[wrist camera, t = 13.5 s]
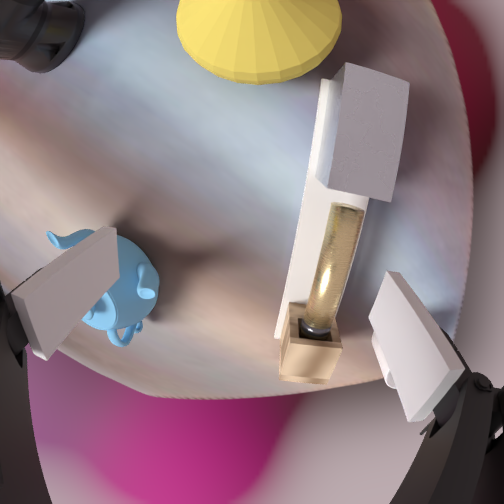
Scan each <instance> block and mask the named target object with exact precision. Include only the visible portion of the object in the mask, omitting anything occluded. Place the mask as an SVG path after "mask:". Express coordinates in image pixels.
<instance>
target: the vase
mask: <svg viewBox="0 0 504 504" xmlns="http://www.w3.org/2000/svg"><path fill="white" fill-rule="evenodd" d="M176 20H177V33H178V36H179V39H180V41H181V43H182V45H183V47H184V50H185V51H186V52H187V53H188V54H189V55H190V56H191V57H192V58H193V59H194V60H195V61H196V62H197V63H198V64H199V65H200V66H202V67H203V68H205V69H206V70H208V71H210V72H211V73H213V74H215V75H216V76H218V77H221V78H224V79H227V80H231V81H234V82H237V83H245V84H255V85H262V84H272V83H281V82H284V81H287V80H290V79H293V78H296V77H300V76H302V75H303V74H305V73H307V72H308V71H310V70H312V69H313V68H315V67H317V66H318V65H319V64H320V63H321V62H322V61H323V60H324V59H325V58H326V57H327V55H328V54H329V53H330V52H331V51H332V49H333V48H334V45H335V43H336V41H337V39H338V37H339V35H340V33H341V24H342V13H341V10H340V6H339V3H338V0H180V3H179V6H178V10H177V14H176Z"/></svg>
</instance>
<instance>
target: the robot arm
mask: <svg viewBox="0 0 504 504" xmlns="http://www.w3.org/2000/svg"><path fill="white" fill-rule="evenodd" d="M83 25H84V11H83V9H82V7H81V6H79V5H77V4H75V3H73V2H69V1H53V2H46V1H45V0H0V59H3V60H14V61H16V62H17V63H19V64H20V65H22V66H23V67H25V68H26V69H28V70H29V71H31V72H36V73H46V72H48V71H51V70H52V69H54V68H55V67H57V66H58V65H59V64H60V63H61V62H62V61H63V60H64V59H65V58H66V57H67V56H68V54H69V53H70V52H71V50H72V49H73V47H74V46H75V44H76V42H77V40H78V38H79V36H80V34H81V31H82V28H83ZM119 278H120V274H119V263H118V249H117V230H116V228H113V227H106V226H103V227H102V228H100V229H99V230H97V231H96V232H94V233H93V234H91V235H89V236H88V237H86V238H85V239H83V240H82V241H80V242H79V243H77V244H76V245H75V246H73V247H72V248H70V249H69V250H67V251H66V252H64V253H63V254H62V255H60V256H59V257H57V258H56V259H55V260H53V261H52V262H51V263H49V264H48V265H46V266H45V267H43V268H41V269H39V270H38V271H36V272H35V273H34V274H32V276H30V277H29V278H27V279H26V281H23V282H22V283H21V284H20V285H18V286H17V287H16V288H15V289H13V290H12V291H11V292H10V293H9V294H7V295H6V296H5V295H4V292H3V289H2V286H1V282H0V504H52V502H51V499H50V496H49V493H48V489H47V487H46V483H45V480H44V477H43V472H42V469H41V465H40V461H39V456H38V453H37V448H36V442H35V437H34V431H33V425H32V419H31V412H30V411H31V410H30V402H29V391H28V376H27V353H26V350H25V348H24V347H25V346H26V345H27V344H28V343H29V344H30V347H31V349H32V351H33V353H34V354H35V355H37V356H39V357H41V358H42V359H44V360H46V361H47V360H48V359H49V358H50V356H51V355H52V354H53V353H54V351H55V350H56V349H57V348H58V347H59V345H60V344H61V343H62V342H63V340H64V339H65V338H66V337H67V336H68V334H69V333H70V332H71V331H72V330H73V329H74V327H75V326H76V325H77V324H78V323H79V322H80V320H81V319H82V318H83V317H84V316H85V315H86V314H87V312H88V311H89V310H90V309H91V308H92V307H93V306H94V305H95V304H96V302H97V301H98V300H99V299H100V298H101V297H102V296H103V295H104V294H105V293H106V292H107V290H108V289H109V288H110V287H111V286H112V285H113V284H114V283H115V282H116V281H117V280H118V279H119ZM368 318H369V320H370V322H371V325H372V327H373V329H374V332H375V334H376V336H377V339H378V341H379V344H380V346H381V349H382V351H383V354H384V356H385V359H386V361H387V364H388V367H389V369H390V372H391V374H392V377H393V380H394V383H395V385H396V388H397V391H398V394H399V397H400V399H401V402H402V405H403V408H404V411H405V414H406V417H407V420H408V422H415V421H422V420H424V419H425V418H426V417H427V416H428V415H429V414H430V413H431V412H432V411H434V414H435V418H434V419H433V420H432V421H431V422H430V423H429V424H428V425H427V426H426V427H425V428H424V429H423V430H422V432H421V433H420V435H422V434H423V433H424V432H426V431H427V432H426V435H425V437H424V440H423V442H422V444H421V446H420V448H419V451H418V453H417V455H416V457H415V459H414V461H413V463H412V465H411V467H410V469H409V471H408V473H407V474H406V477H405V478H404V480H403V482H402V484H401V485H400V487H399V489H398V490H397V492H396V494H395V496H394V497H393V499H392V501H391V502H390V504H504V386H503V387H502V388H501V389H499V388H494V387H493V385H492V383H491V381H490V380H489V379H488V378H487V377H486V376H484V375H483V374H480V373H478V372H473V373H472V372H471V370H470V369H469V367H468V365H467V364H466V362H465V360H464V359H463V357H462V355H461V354H460V352H459V351H457V348H456V346H455V344H453V341H452V340H451V338H450V337H449V335H448V334H447V333H446V332H445V331H444V330H442V329H441V328H440V327H439V326H438V325H437V323H436V322H435V320H434V319H433V317H432V316H431V315H430V313H429V312H428V310H427V309H426V308H425V306H424V305H423V303H422V302H421V301H420V299H419V298H418V296H417V295H416V294H415V292H414V291H413V290H412V288H411V287H410V286H409V284H408V283H407V282H406V280H405V279H404V278H403V277H402V275H401V274H400V273H398V272H392V271H386V273H385V276H384V279H383V282H382V284H381V287H380V290H379V292H378V295H377V297H376V300H375V303H374V305H373V307H372V310H371V312H370V315H369V317H368ZM502 426H503V433H502V434H501V435H500V436H499V437H498V438H496V439H495V433H496V432H497V431H498V430H499V429H500V428H501V427H502Z"/></svg>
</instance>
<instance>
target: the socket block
mask: <svg viewBox="0 0 504 504" xmlns="http://www.w3.org/2000/svg"><path fill="white" fill-rule="evenodd" d="M306 306H307V305H306V304H299V303H292V302H289V304H288V308H287V312H286V316H285V320H284V324H283V329H282V332H281V336H280V363H279V380H283V381H291V382H301V383H312V384H325V385H327V383H328V381H329V378H330V376H331V374H332V372H333V370H334V368H335V365H336V363H337V361H338V359H339V356H340V354H341V352H342V349H343V347H342V343H341V339H340V335H339V331H338V327H337V323H336V320H335V317H334V320H333V323H332V327H331V329H330V332H329V334H328V337H327V339H326V341H319V340H310V339H302V338H299V330H300V327H301V322H302V318H303V316H304V313H305V309H306Z"/></svg>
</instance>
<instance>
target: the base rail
mask: <svg viewBox="0 0 504 504" xmlns="http://www.w3.org/2000/svg"><path fill="white" fill-rule="evenodd" d="M330 81H331V80H328V79H323V78H322V79H321V85H320V93H319V100H318V107H317V114H316V121H315V127H314V134H313V140H312V147H311V153H310V159H309V165H308V171H307V177H306V183H305V188H304V194H303V199H302V205H301V210H300V216H299V221H298V226H297V231H296V236H295V241H294V246H293V251H292V256H291V261H290V266H289V271H288V275H287V280H286V285H285V289H284V294H283V299H282V303H281V308H280V312H279V316H278V321H277V325H276V329H275V334H274V338H276V339H280V336H281V332H282V329H283V324H284V320H285V316H286V312H287V308H288V304H289V302H292V303H299V304H306V305H307V302H308V298H309V294H310V291H311V287H312V283H313V279H314V275H315V271H316V267H317V263H318V259H319V255H320V251H321V247H322V242H323V238H324V234H325V229H326V225H327V220H328V215H329V211H330V206H331V202H340V203H345V204H349V205H353V206H356V207H359V208H361V209H363V210H364V211H365V214H366V210H367V206H368V201H369V197H365V196H361V195H356V194H351V193H347V192H342V191H337V190H332V189H327V188H326V187H325V186H324V185H323V184H322V183H321V182H320V181H319V180H318V179H316V178H315V173H316V168H317V162H318V156H319V150H320V144H321V137H322V131H323V124H324V117H325V111H326V103H327V96H328V89H329V82H330ZM365 214H364V218H363V222H362V226H361V230H360V234H361V231H362V227H363V223H364V219H365ZM360 234H359V238H360ZM359 238H358V241H357V245H356V249H357V246H358V242H359ZM356 249H355V253H356ZM355 253H354V256H353V260H354V257H355ZM353 260H352V263H351V267H352V264H353ZM351 267H350V270H351ZM350 270H349V273H348V277H349V274H350ZM348 277H347V280H348ZM347 280H346V283H345V287H346V284H347ZM345 287H344V290H345ZM344 290H343V293H344ZM343 293H342V296H343ZM342 296H341V299H342ZM341 299H340V302H341ZM340 302H339V305H340ZM339 305H338V308H339ZM338 308H337V311H338ZM337 311H336V314H337ZM336 314H335V317H336Z"/></svg>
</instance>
